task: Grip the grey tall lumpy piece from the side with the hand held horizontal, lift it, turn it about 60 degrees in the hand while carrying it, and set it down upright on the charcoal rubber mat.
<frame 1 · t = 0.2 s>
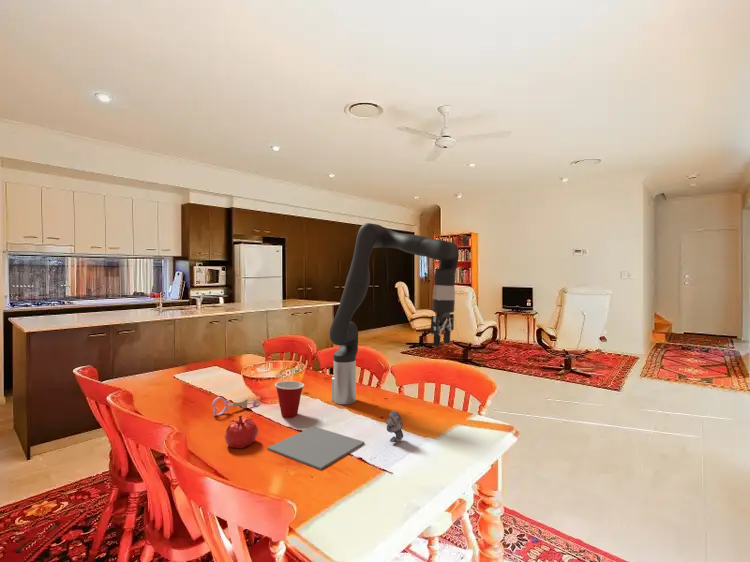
hand: (441, 344, 139), 28 cm above the table, tool pointing down, fingers open, 8 cm apart
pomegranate: (241, 444, 125), on the table
decorative key: (237, 410, 156), on the table
plastic cup: (290, 415, 150), on the table
mat: (316, 446, 123), on the table
grey tall lumpy piece: (395, 441, 127), on the table
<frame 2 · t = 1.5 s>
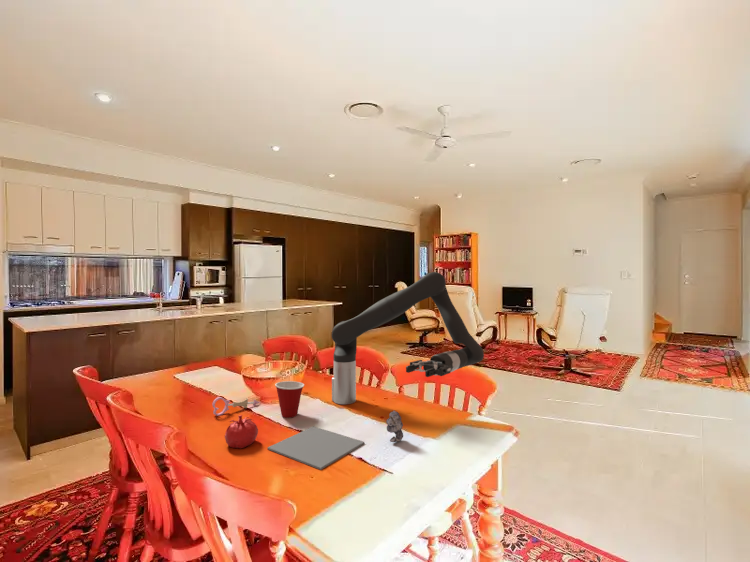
hand: (416, 371, 134), 20 cm above the table, tool horizontal, fingers open, 8 cm apart
nothing on the table moved.
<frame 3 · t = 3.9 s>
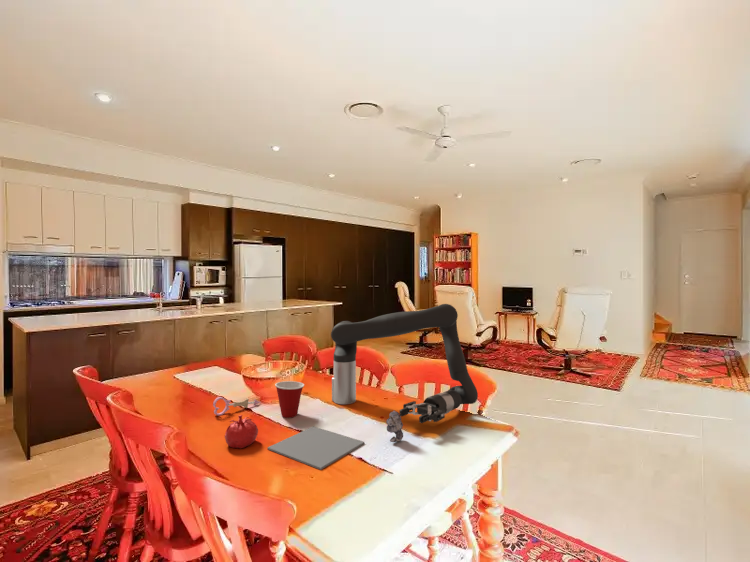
hand: (409, 416, 132), 6 cm above the table, tool horizontal, fingers open, 8 cm apart
nothing on the table moved.
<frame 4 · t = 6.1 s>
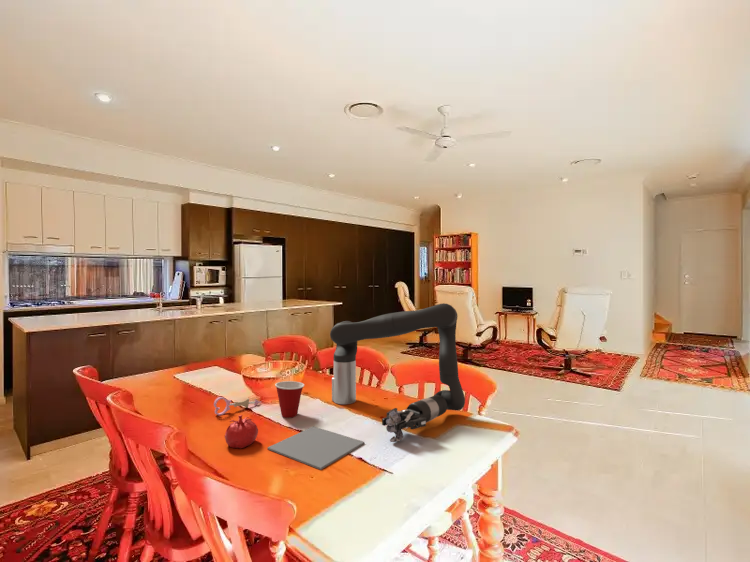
hand: (389, 424, 125), 6 cm above the table, tool horizontal, fingers closed on grey tall lumpy piece, 5 cm apart
grey tall lumpy piece: (395, 441, 127), on the table, touching gripper
everything else where it was.
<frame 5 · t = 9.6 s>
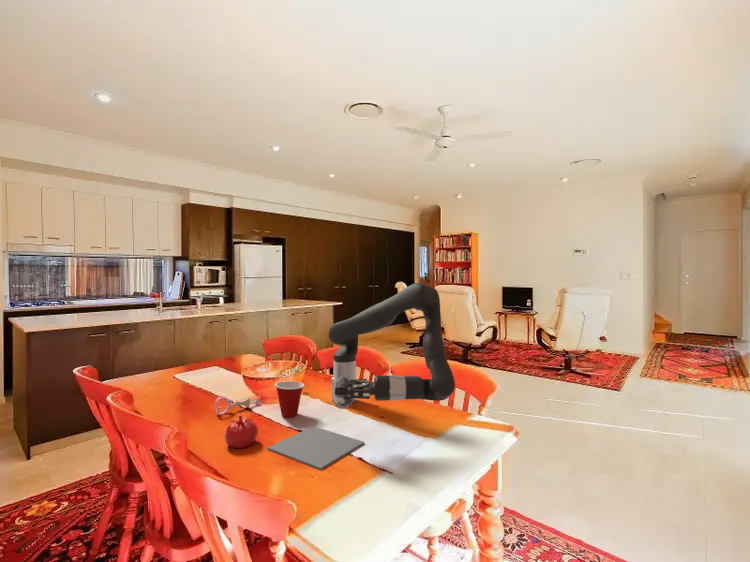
hand: (335, 388, 122), 18 cm above the table, tool horizontal, fingers closed on grey tall lumpy piece, 5 cm apart
grey tall lumpy piece: (343, 408, 122), point 12 cm above the table, touching gripper
when the fingers open (7 cm above the table, at t = 13.0 s): grey tall lumpy piece stays where it is, resting on mat.
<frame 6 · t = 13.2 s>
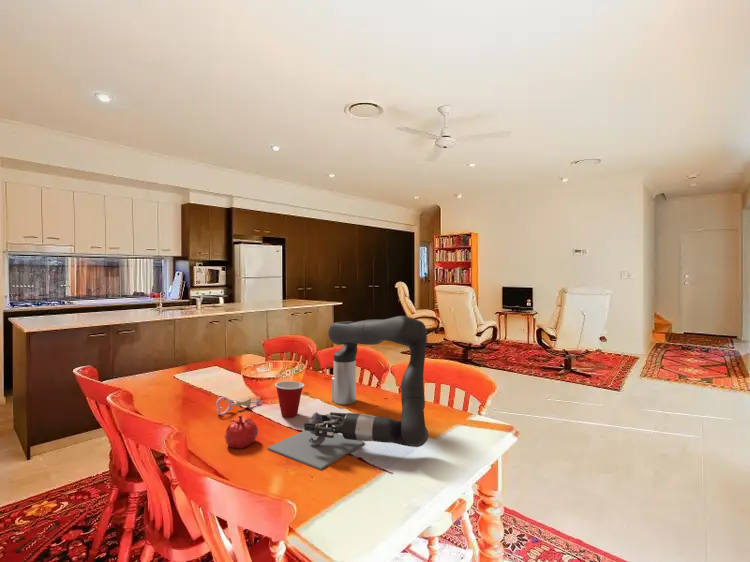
hand: (309, 421, 124), 7 cm above the table, tool horizontal, fingers open, 6 cm apart
grey tall lumpy piece: (317, 444, 123), resting on mat
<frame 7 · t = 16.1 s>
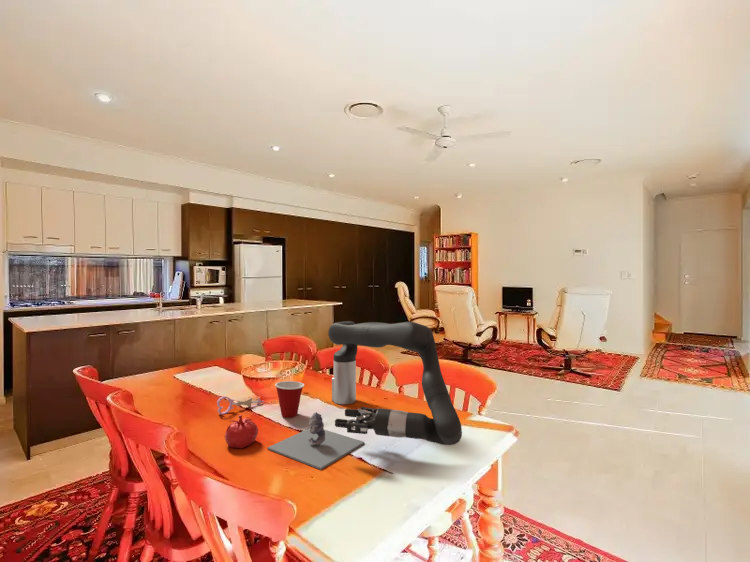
hand: (340, 417, 121), 10 cm above the table, tool horizontal, fingers open, 8 cm apart
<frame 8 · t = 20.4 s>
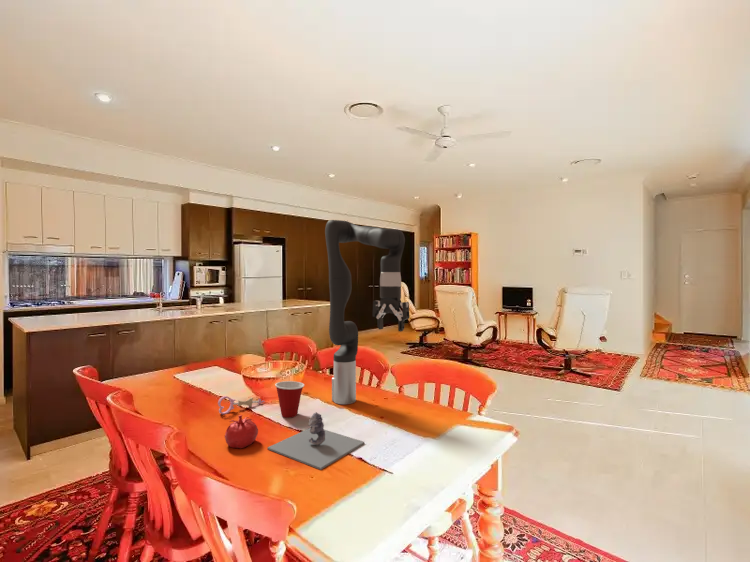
hand: (390, 330, 142), 33 cm above the table, tool pointing down, fingers open, 8 cm apart
at the end: grey tall lumpy piece inside the target area on the mat (0.3 cm from its centre), point 0.4 cm above the mat's base; grey tall lumpy piece tilted 0°; the gripper is holding nothing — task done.
